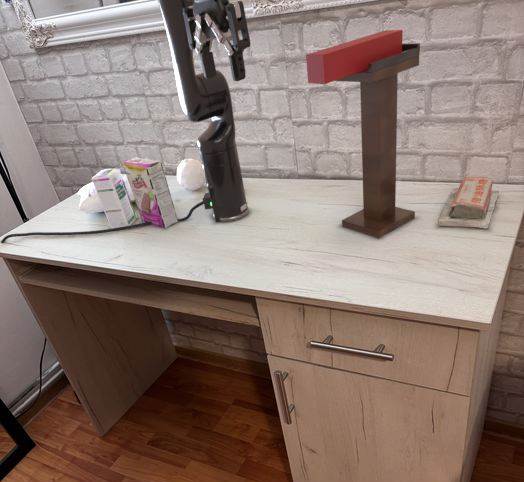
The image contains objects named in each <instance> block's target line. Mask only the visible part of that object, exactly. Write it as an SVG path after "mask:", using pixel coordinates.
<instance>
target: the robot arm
mask: <svg viewBox="0 0 524 482" xmlns="http://www.w3.org/2000/svg"><path fill="white" fill-rule="evenodd" d="M157 2H158V6H159V10H160V13H161V14H160V15H161V17H162V21H163V26H164V30H165V33H166V37H167V42H168V44H169V45H168V46H169V51H170V56H171V57H170V58H171V63H172V67H173V74H174V80H175V86H176V91H177V95H178V99H179V103H180V107H181V110H182V113H183V114H184V116H185V117H186V119H187V120H188V121H189V122H190V123H194V124H197V123H199V122H203V121H206V120H210V123H209V124H208V126H207V128H206V129H205V130H204V131H203V132H202V133H201V134H200V135H199V136H198V137H197V139H196V145H197V150H198V153H199V158H200V162H201V163H202V167H203V171H204V175H205V186H206V191H207V192H205V193H204V195H203V197H202V201H200V202H198V203H196V204H195V205H193V207H192V208H190V210H189V212H188V214H187V215H186V216H184V217H182V218H177V219H178V222H177V223H180V222H185V221H187V220H189V219H190V218H191V216H192V214H193V213H194V211H195V210H196V209H198V208H199V207H201V206H204V210H211V212H212V215H213V219H214V221H215V223H227V222H235V221H237V220H238V221H239V220H240V219H242V218H245V217H246V216H247V215H248V214H249V212H250V211H249V206H248V202H247V201H248V200H247V197H246V190H245V185H244V180H243V175H242V169H241V163H240V159H239V152H238V148H237V147H238V146H237V142H236V141H237V140H236V123H235V117H234V116H235V115H234V108H233V107H234V106H233V100H232V95H231V94H232V93H231V90H230V85H229V83H228V80H227V78H226V77H225V75H224V74H223V73H222V72H221V71H220V70H218V69H217V68H216V64H215V59H214V53H213V51H212V45H213V40H215V39H217V41H218V43H220V44H222V45H223V46H224V48H225V50H226V51H227V54H228V61H229V66H230V71H231V77H232V80H233V82H239V81H243V80H245V79H246V76H247V75H246V66H245V59H244V55H243V54H244V51H245V50H246V49H248V48H250V47H251V39H250V33H249V27H248V22H247V17H246V12H245V6H244V5H245V4H244V2H243V1H242V0H238V1H234V2H230V0H157ZM240 32H241V37H240V36H239V34H240ZM241 38H242V39H241ZM231 41H232V42H231ZM194 50H195V52H196V54H197V55H199V59H200V63H201V68H202V72H200V73H197V74H196V70H195V62H194ZM148 225H149V226H150V225H153V224H152V222H150V221H149V222H144V221H143V222H141V223H136V224H131V225H130V226H125V227H119V228H107V229H98V230H87V231H86V230H85V231H53V232H52V231H51V232H49V231H47V232H45V231H44V232H43V231H32V232H23V233H22V232H21V233H10V234H7V235H6V236H4V237H3V238H2V239H1V241H0V242H1V244H4V243H5V242H6V241H7V240H9V238H14V237H15V238H16V237H30V236H82V235H95V234H106V233H111V232H119V231H124V230H129V229H134V228H135V229H136V228H140V227H144V226H148Z"/></svg>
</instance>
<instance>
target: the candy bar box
mask: <svg viewBox="0 0 524 482" xmlns="http://www.w3.org/2000/svg"><path fill="white" fill-rule="evenodd" d="M122 166H123V169H124V172H125V175H127V178H128V181H129V184H130V187H131V190H132V192H133V195H134V199H135V204H136V207H137V210H138V213H139V216H140V219H141V222H143V223H144V222H149V221H150V222H152V224H151V225H153V226H157V227H161V228H163V229H167V228H169V227H171V226H173V225H175V224H176V223H179V222H178V219H179V218H178V216H177V212H176V209H175V204H174V201H173V199H172V194H171V191H170V188H169V184H168V180H167V177H166V174H165V170H164V166H163V164H162V161H161V160H156V159H151V158H145V157H142V156H141V157H140V156H134V157H131V158H128V160H125V161H123V162H122Z"/></svg>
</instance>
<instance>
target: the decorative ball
mask: <svg viewBox="0 0 524 482" xmlns="http://www.w3.org/2000/svg"><path fill="white" fill-rule="evenodd" d="M176 167H177V169H176V176H175V177H176V179H177V183H178V184H179V185H180V186H181V187H182V188H183V189H184V190H188V191H192V192H194V191H198V190H199V189H201V188H202V187H203V186H204V185H206V183H205V175H204V171H203V167H202V162H201V160H199V159H195V158H191V157H190V158H184V159H182V161H181V162H180V163H179V164H178V165H177V166H176Z"/></svg>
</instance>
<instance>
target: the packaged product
mask: <svg viewBox="0 0 524 482" xmlns="http://www.w3.org/2000/svg"><path fill="white" fill-rule="evenodd" d="M493 184H494V183H493V179H492V178H489V177H487V176H465V177H463V179H462V181H461V182H460V184H459V187H455V188H453V189H452V192H451V193H450V196H449V198H448V200H447V202H446V204H445V206H444V209H443V211H442V212H441V214H440V217H439V219H438V226H439V227H464V228H465V227H466V228H468V227H469V228H480V229H486V230H487V229H488V228H489V225H490V222H491V220H492V216H493V211H494V209H495V207H496V202H497V200H498V195H499V192H500V191H499V190H492V189H493Z"/></svg>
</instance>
